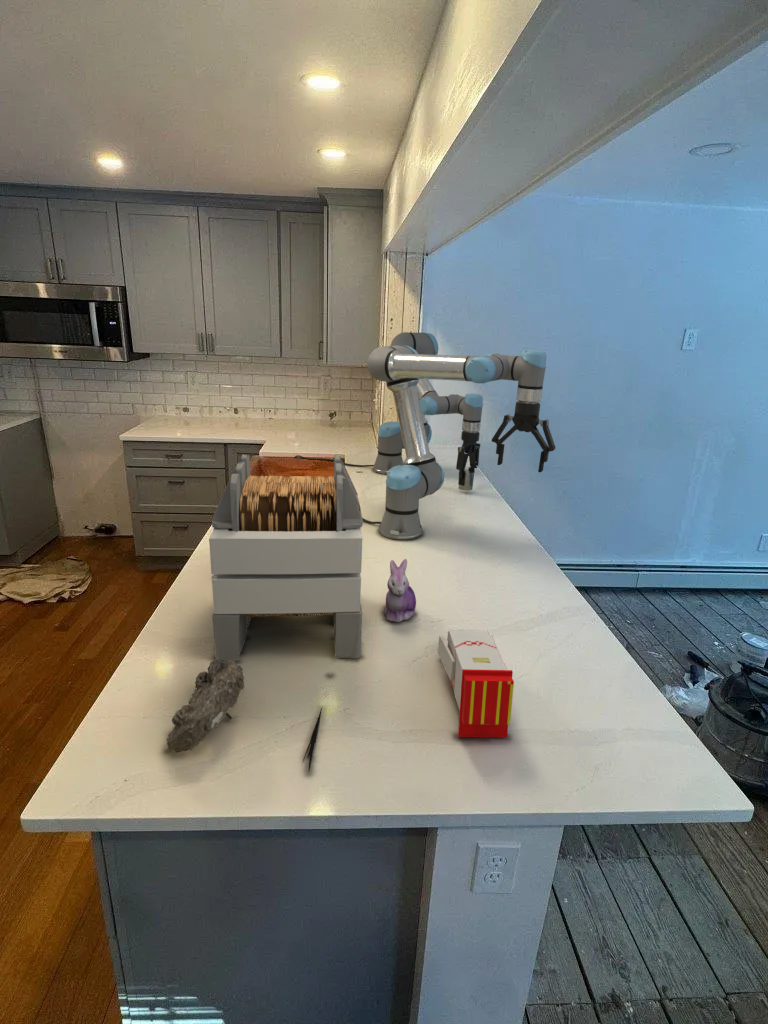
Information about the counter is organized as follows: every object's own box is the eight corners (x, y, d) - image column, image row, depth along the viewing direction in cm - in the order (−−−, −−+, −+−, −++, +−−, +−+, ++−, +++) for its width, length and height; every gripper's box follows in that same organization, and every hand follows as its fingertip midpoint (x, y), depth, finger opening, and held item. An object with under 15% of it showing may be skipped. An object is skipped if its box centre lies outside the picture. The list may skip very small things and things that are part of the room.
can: (468, 491, 244) (470, 474, 241) (455, 488, 247) (457, 471, 245) (475, 488, 249) (476, 471, 246) (462, 485, 252) (464, 468, 249)
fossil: (192, 660, 117) (244, 628, 112) (224, 691, 120) (276, 661, 115) (142, 746, 98) (202, 712, 93) (182, 779, 101) (242, 748, 96)
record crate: (234, 590, 156) (226, 444, 142) (353, 588, 159) (357, 447, 146) (212, 662, 124) (200, 485, 110) (361, 659, 128) (367, 486, 114)
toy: (488, 613, 130) (523, 677, 101) (484, 667, 133) (517, 744, 104) (435, 612, 130) (455, 676, 101) (432, 666, 133) (451, 743, 103)
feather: (331, 679, 122) (336, 673, 122) (307, 777, 96) (313, 769, 95) (324, 675, 122) (329, 669, 121) (298, 772, 95) (304, 764, 95)
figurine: (392, 627, 141) (395, 572, 136) (374, 608, 149) (376, 556, 144) (425, 619, 145) (429, 566, 140) (405, 601, 154) (408, 550, 149)
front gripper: (571, 405, 174) (561, 472, 181) (494, 396, 185) (487, 459, 193) (565, 408, 168) (555, 477, 175) (486, 398, 179) (479, 463, 186)
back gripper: (465, 435, 230) (460, 489, 238) (490, 430, 244) (485, 481, 251) (450, 432, 235) (445, 485, 243) (476, 427, 248) (471, 477, 256)
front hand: (519, 467), depth 184 cm, fingers open, 13 cm apart
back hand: (465, 483), depth 247 cm, fingers closed on can, 6 cm apart
